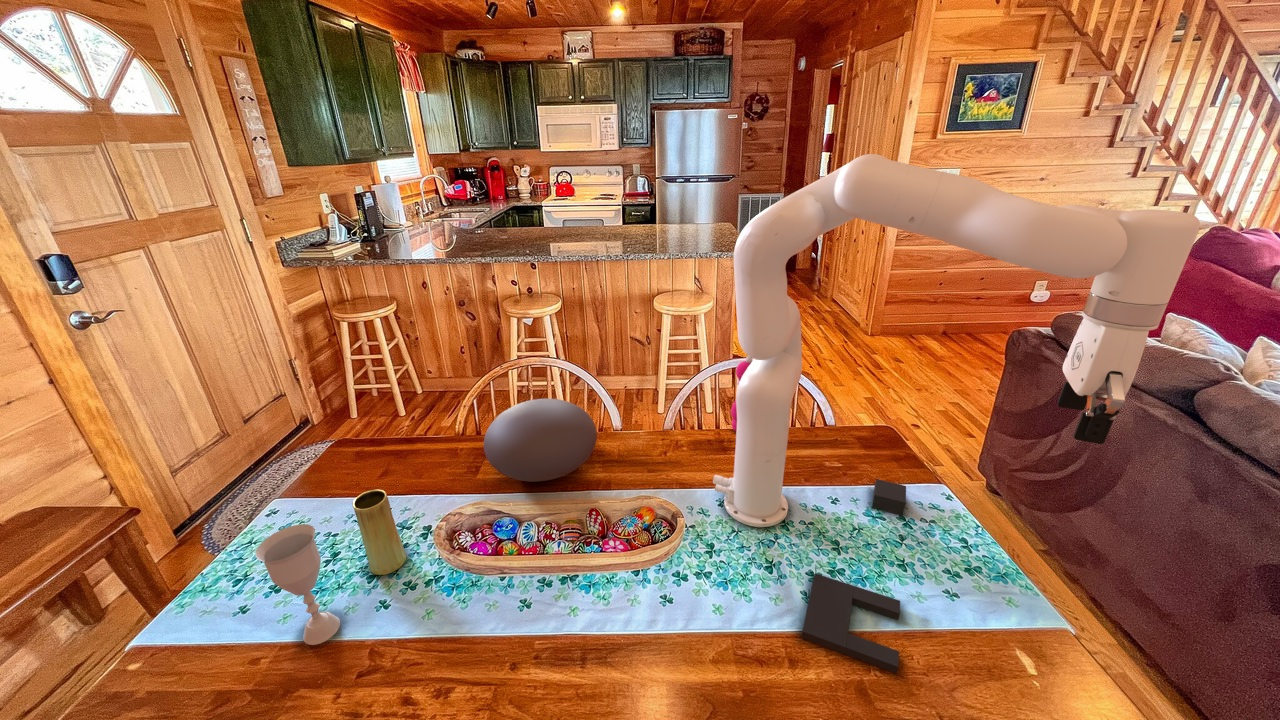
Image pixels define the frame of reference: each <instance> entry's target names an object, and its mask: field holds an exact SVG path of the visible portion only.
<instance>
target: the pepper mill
mask: <svg viewBox="0 0 1280 720" xmlns="http://www.w3.org/2000/svg"><path fill="white" fill-rule="evenodd" d="M752 360H753V358H751V357H749V356H748V355H747V356H746V357H745V360H744V361H741V362H740V363H738V365H737V366H736V369H735V375H736V377H737V380H736V381H737V383H736V384H737V386H738V385H739V382H740V380H741V378H742V376H743V374H744V373H745V371H746V370H747V368H748V366H749V365H750V364H751V362H752ZM730 415H731V416H730V417H731V418H732V420H731V428H732V430H733V431H734V432H736V430H737V409H736V399H735V400H734V402H733V403H732V405H731V408H730Z"/></svg>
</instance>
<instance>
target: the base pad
mask: <svg viewBox="0 0 1280 720" xmlns="http://www.w3.org/2000/svg"><path fill="white" fill-rule="evenodd" d="M852 606H854V607H858V608H861V609H863V610H866V611H870V612H873V613H875V614H879V615H882V616H885V617H888V618H890V619H893V620H896V621H898V620H899V618H900V614H901V600H899V599H896V598H893V597H889V596H887V595H884V594H880V593H878V592H874V591H871V590H868V589H865V588H862V587H860V586H856V585H852V584H849V583H847V582H843V581H840V580H838V579H834V578H831V577H828V576H825V575H822V574H819V573H816V572H815V573H814V575H813V579H812V584H811V588H810V593H809V598H808V602H807V607H806V612H805V617H804V619H803V620H804V621H803V625H802V629H801V635H800V638H801V639H803V640H806V641H807V642H811V643H813V644H816V645H818V646H821V647H824V648H827V649H830V650H832V651H835V652H838V653H839V654H841V655H844V656H845V655H846V656H848V657H851V658H853V659H855V660H858V661H861V662H864V663H867V664H869V665H871V666H873V667H876V668H880V669H883V670H885V671H888V672H890V673H893V674H895V675H896V674H897V673H898V671H899V664H900V663H899V662H900V651H899V650H897V649H894V648H891V647H889V646H885V645H883V644H880V643H877V642H875V641H872V640H868V639H866V638H864V637H860V636H858V635H855V634H852V633H850V632H849V629H850V622H851V615H852V608H853V607H852Z"/></svg>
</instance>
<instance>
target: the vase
mask: <svg viewBox="0 0 1280 720" xmlns="http://www.w3.org/2000/svg"><path fill="white" fill-rule="evenodd" d="M391 507H392V506H391V503H390V499H389V497H388V494H387V492H386V491H384V490H383V489H371V490H367V491H364V492H362V493H360V494H359V495H358V496H356V497H355V498H354V499H353V502H352V508H353V510H354V514H355V517H356V521H357V524H358V528H359V532H360V535H361V539H362V543H363V546H364V550H365V554H366V557H367V561H368V569H369V571H370V572H371V573H372V574H373V575H377V576H385V575H389V574H392V573H393V572H396V571H397V570H398V569H400V568H401V567H402V566H403V565H404V564H405V562H406V560H407V558H408V557H407V556H408V555H407V553H406V551H405V548H404V545H403V542H402V539H401V536H400V534H399V531H398V527H397V525H396V522H395V518H394V515H393V512H392V508H391Z"/></svg>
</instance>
